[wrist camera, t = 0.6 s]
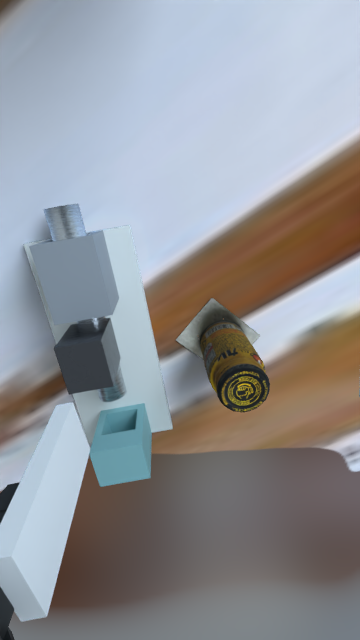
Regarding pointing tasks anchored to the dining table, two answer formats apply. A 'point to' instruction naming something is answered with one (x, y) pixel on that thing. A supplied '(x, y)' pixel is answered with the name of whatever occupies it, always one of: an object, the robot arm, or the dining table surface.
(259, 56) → the dining table surface
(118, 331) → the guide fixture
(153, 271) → the dining table surface
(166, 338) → the dining table surface
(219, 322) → the condiment
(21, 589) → the robot arm
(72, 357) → the tube
